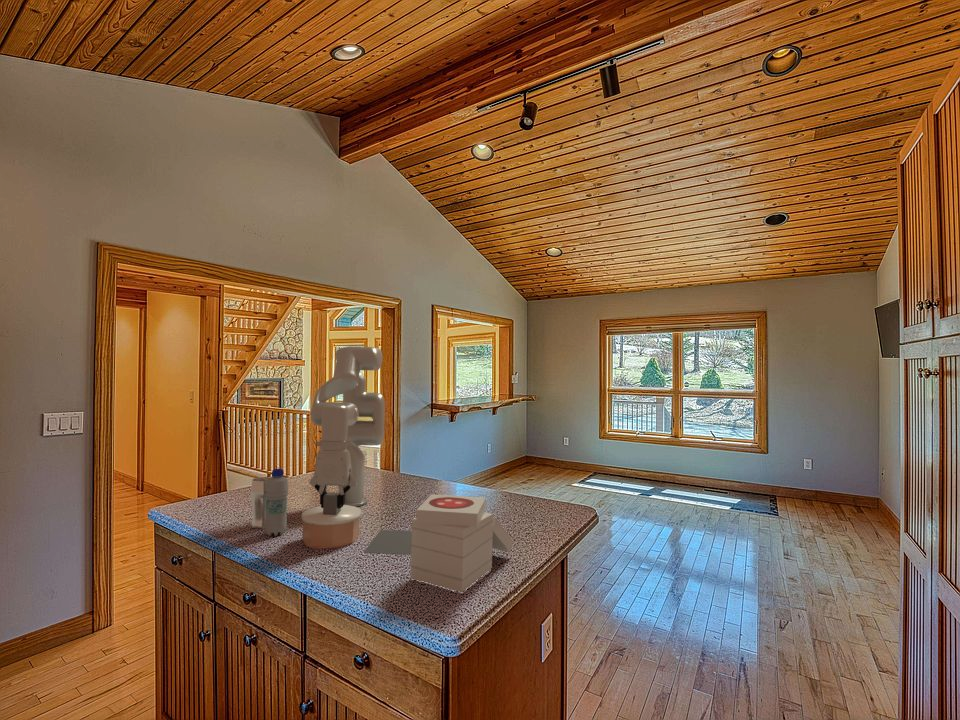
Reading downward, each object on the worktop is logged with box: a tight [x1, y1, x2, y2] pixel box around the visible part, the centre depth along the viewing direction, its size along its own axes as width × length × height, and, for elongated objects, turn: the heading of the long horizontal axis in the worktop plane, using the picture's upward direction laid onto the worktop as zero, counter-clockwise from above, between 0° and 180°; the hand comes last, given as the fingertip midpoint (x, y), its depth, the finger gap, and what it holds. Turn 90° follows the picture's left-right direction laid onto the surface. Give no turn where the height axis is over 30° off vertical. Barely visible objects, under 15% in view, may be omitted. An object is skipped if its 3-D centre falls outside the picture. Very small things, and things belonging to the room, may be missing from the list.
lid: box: [301, 491, 362, 525], centre depth 141 cm, size 17×17×6 cm
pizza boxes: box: [410, 493, 514, 592], centre depth 124 cm, size 19×30×18 cm, turn 151°
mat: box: [363, 529, 412, 556], centre depth 140 cm, size 19×19×1 cm
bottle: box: [263, 468, 289, 537], centre depth 146 cm, size 7×7×20 cm
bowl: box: [301, 517, 361, 550], centre depth 141 cm, size 15×15×7 cm
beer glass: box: [250, 476, 272, 529], centre depth 153 cm, size 7×7×15 cm
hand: (332, 506), depth 141 cm, fingers open, 4 cm apart
